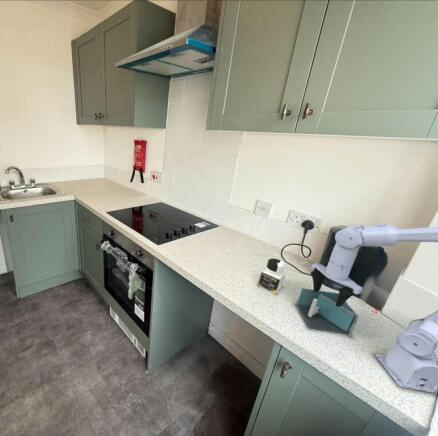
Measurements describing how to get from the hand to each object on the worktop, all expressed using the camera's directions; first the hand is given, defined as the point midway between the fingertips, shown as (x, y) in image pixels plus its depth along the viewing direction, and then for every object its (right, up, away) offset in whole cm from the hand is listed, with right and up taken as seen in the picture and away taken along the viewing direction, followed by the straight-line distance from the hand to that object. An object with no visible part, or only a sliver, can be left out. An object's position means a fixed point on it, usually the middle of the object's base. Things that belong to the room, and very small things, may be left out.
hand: (326, 298), depth 81 cm
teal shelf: (0, -9, +1) cm, 9 cm away
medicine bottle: (-9, -2, +20) cm, 22 cm away
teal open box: (+1, -9, +4) cm, 9 cm away
